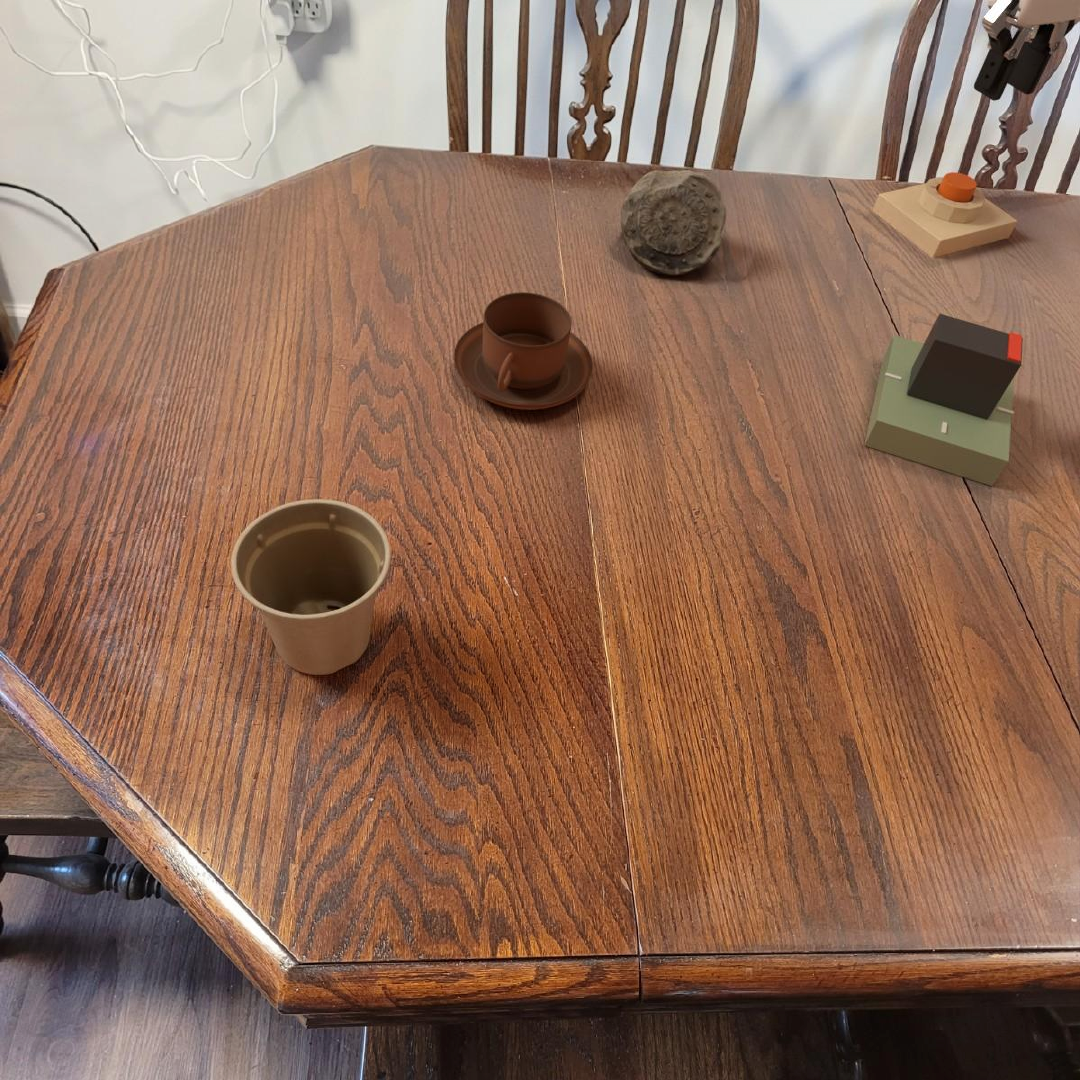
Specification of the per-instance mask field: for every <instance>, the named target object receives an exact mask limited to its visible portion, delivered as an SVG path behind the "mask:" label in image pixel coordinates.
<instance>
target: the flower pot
mask: <svg viewBox="0 0 1080 1080" xmlns="http://www.w3.org/2000/svg"><path fill="white" fill-rule="evenodd" d="M391 552H392V550H391V544H390V540H389V538H388V535H387V533H386V531H385V529H384V528H383V527H382V526H381V524H380V523H379V522H378V521H377V520H376V519H375V518H374V517H373V516H372V515H371V514H369V513H368V512H367V511H365V510H363V509H361V508H360V507H358V506H355V505H353V504H350V503H347V502H345V501H340V500H336V499H335V500H334V499H324V498H323V499H322V498H321V499H320V498H313V499H312V498H311V499H309V498H308V499H302V500H301V499H300V500H295V501H291V502H287V503H284V504H281V505H278V506H276V507H274V508H272V509H270V510H268V511H265V512H264V513H263V514H261V515H260V516H259V515H258V517H257V518H255V519H254V520H252V522H250V523H249V524H248V525H247V526H246V527H245V529H244V530H243V531H242V532H241V534H239V536H238V538H237V539H236V541H235V543H234V547H233V549H232V552H231V559H230V572H231V577H232V579H233V583H235V587H236V589H237V590H238V592H239V593H240V594H241V596H242V597H243V598H244V599H245V600H246V601H247V602H248V603H249V604H251V606H253V607H254V608H255V609H256V610H257V611H258V612H259V614H260V616H261V618H262V620H263V622H264V625H265V627H266V629H267V631H268V633H269V635H270V637H271V640H272V642H273V644H274V647H275V650H276V653H277V654H278V655H279V656H280V658H281V659H282V661H283V662H284V663H286V664H287V666H289V667H290V668H292V669H294V671H298V672H300V673H303V674H308V675H315V676H324V675H332V674H334V673H336V672H338V671H340V670H342V669H344V668H346V667H348V666H350V665H353V664H355V663H356V662H357V661H358V660H359V659H360V658H361V657H362V656H363V654H364V652H365V651H366V650H367V648H368V646H369V642H370V640H371V639H370V638H371V628H372V622H373V617H374V609H375V604H376V598H377V594H378V592H379V590H380V588H381V587H382V586H383V584H384V582H385V580H386V578H387V576H388V573H389V571H390V566H391V559H392V553H391ZM328 607H331V608H332V607H334V608H338V609H335V610H333V609H328Z"/></svg>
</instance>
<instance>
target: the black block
mask: <svg viewBox="0 0 1080 1080" xmlns="http://www.w3.org/2000/svg"><path fill="white" fill-rule="evenodd" d="M1023 342H1024V338H1023V335H1022V334H1018V333H1015V332H1012V331H1010V332H1009V333H1007V332H1005V331H1002V330H999V329H994V328H990V327H987V326H984V325H980V324H977V323H973V322H970V321H966V320H963V319H960V318H957V317H953V316H950V315H946V314H943V313H939V314H938V315H937V317H936V319H935V321H934V323H933V325H932V327H931V329H930V331H929V333H928V335H927V336H926V339H925V341H924V343H923V344H924V345H923V347H922V349H921V351H920V353H919V355H918V357H917V359H916V361H915V363H914V365H913V366H912V369H911V374H910V380H909V385H908V390H907V395H910V396H913V397H916V398H919V399H923V400H926V401H929V402H932V403H935V404H939V405H942V406H945V407H948V408H952V409H955V410H958V411H961V412H965V413H968V414H971V415H974V416H978V417H981V418H984V419H988V418H989V417H990V415H991V413H992V412H993V410H994V409H995V407H996V405H997V404H998V402H999V400H1000V399H1001V397H1002V396H1003V394H1004V392H1005V391H1006V389H1007V387H1008V386H1009V384H1010V383H1011V381H1012V379H1013V378H1014V379H1015V377H1016V374H1017V373H1018V371H1019V369H1020V368H1021V367H1022V360H1023V359H1022V358H1023Z"/></svg>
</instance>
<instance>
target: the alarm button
mask: <svg viewBox="0 0 1080 1080" xmlns="http://www.w3.org/2000/svg"><path fill="white" fill-rule="evenodd" d="M943 177H944V178H943V180H942V182H941V184H940V186H939V189H938V194H940V195H941V196H943V197H944V198H946V199H948V200H951V201H954V202H960V203H967V202H969V201H970V199H971V197H972V195H973V193H974V191H975V189H977V186H978V183H977V181H976V180H975V179H974V178H972V177H971V176H969V175H968V174H964V173H961V172H955V171H954V172H947V173H945V174H944V175H943Z"/></svg>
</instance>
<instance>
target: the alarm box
mask: <svg viewBox="0 0 1080 1080" xmlns="http://www.w3.org/2000/svg"><path fill="white" fill-rule="evenodd" d="M943 178H944V176H937V177H935V178H933V177H932V178H929V179H927V181H926V183H922V184H918V185H914V186H909V187H908V186H907V187H903V188H899V189H895V190H891V191H886V192H881V193H879V194H877V195H878V196H877V198H876V200H875V203H874V206H873V208H872V210H871V211H872V212H873V213H874V214H876V215H877V216H878V217H879V218H881V219H882V220H884V221H885V222H886V223H887V224H889V226H891V227H892V228H894V229H895V230H896V231H898V232H899V233H900V234H901V235H903V236H904V237H905V238H906V239H908V240H909V241H910V242H912V243H913V244H914V245H916V246H917V247H918V248H919V249H920V250H922V251H923V252H925V253H926V254H927V255H928V256H930V257H931V258H932V259H933V258H937V257H941V256H945V255H949V254H952V253H956V252H960V251H964V250H968V249H971V248H976V247H979V246H982V245H983V246H984V245H986V244H990V243H993V242H998V241H1001V240H1005V239H1009V237H1011V234H1012V232H1013V231H1014V229H1015V227H1016V225H1017V223H1018V220H1017V219H1015V218H1014V217H1012V216H1011V215H1009V214H1008V213H1007V212H1006V211H1004V210H1003V209H1001V208H1000V207H998V206H997V205H996V204H994V203H993V202H991V201H990V200H989V199H987V198H985V196H984V194H983V192H982V191H981V190H980V189H978V188H976V189H975V191H974V193H973V195H972V197H971V199H970V201H969V202H967V203H960V202H954V201H951V200H948V199H946V198H944V197H943V196H941V195H940V194H938V189H939V186H940V184H941V182H942V180H943Z"/></svg>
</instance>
